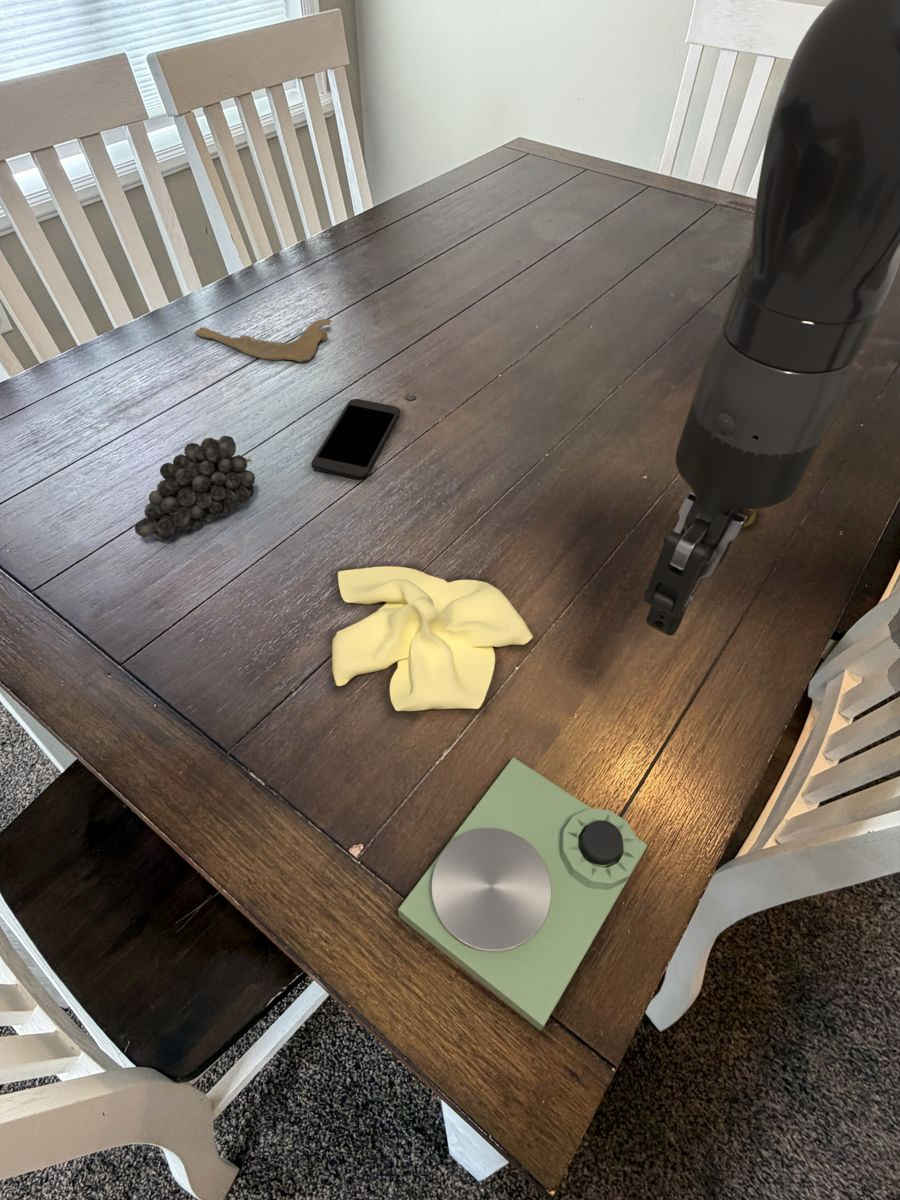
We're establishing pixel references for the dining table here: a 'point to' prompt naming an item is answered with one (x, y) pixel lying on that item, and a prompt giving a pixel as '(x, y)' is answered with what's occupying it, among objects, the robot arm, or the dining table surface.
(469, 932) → the weighing plate
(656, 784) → the dining table surface
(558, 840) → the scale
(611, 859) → the button
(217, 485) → the fruit
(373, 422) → the smartphone
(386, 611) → the cloth
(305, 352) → the jawbone
